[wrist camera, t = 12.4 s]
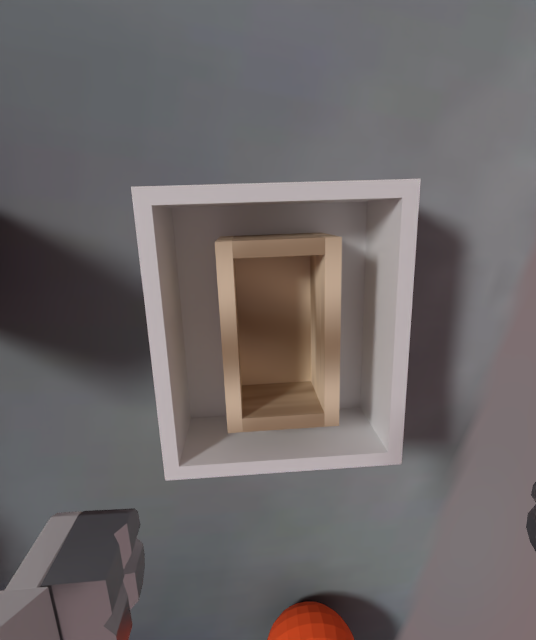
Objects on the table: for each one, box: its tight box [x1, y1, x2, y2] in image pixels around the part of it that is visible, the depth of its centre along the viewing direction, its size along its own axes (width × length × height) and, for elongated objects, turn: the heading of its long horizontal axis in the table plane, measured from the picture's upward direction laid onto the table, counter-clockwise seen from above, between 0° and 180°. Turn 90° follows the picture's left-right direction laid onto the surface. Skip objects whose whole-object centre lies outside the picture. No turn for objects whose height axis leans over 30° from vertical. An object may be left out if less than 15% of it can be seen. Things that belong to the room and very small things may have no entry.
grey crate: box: [131, 179, 421, 480], centre depth 22 cm, size 15×13×6 cm
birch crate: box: [215, 233, 342, 433], centre depth 22 cm, size 10×6×5 cm, turn 2°
